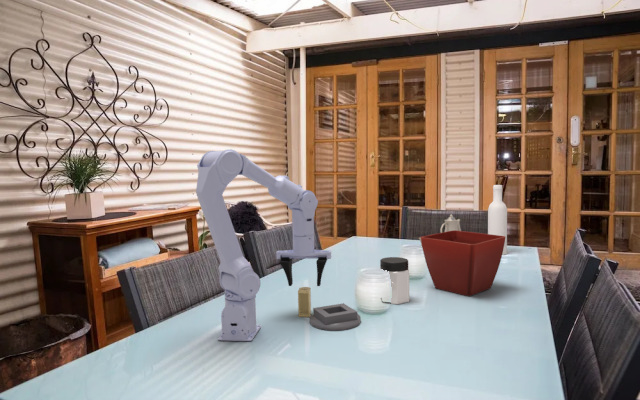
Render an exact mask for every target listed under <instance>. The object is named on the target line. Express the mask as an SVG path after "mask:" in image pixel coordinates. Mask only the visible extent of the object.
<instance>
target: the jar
mask: <svg viewBox="0 0 640 400" xmlns="http://www.w3.org/2000/svg"><path fill="white" fill-rule="evenodd" d="M379 261H380V262H379V263H380V267H379V270H380V269H383V270H384V271H385V270H387V272H388V271H389V274H390V279H391V287H392V298H391V304H392V305H402V304H406V303H409V302H410V269H409V259H407V258H405V257H400V256H399V257H397V256H392V257H391V256H390V257H389V256H388V257H382V258H381V259H380V260H379Z"/></svg>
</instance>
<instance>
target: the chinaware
mask: <svg viewBox="0 0 640 400" xmlns="http://www.w3.org/2000/svg"><path fill="white" fill-rule="evenodd" d="M460 221H461V218H457V219H456V217H454V215H453V214H452V213H451V214H450V215H449V217H447V218H446V219H444V223H442V224H441V226H440V229H439V230H440V231H439V233H442V232H443V228H444V226H445V229H444V232H447V231H453V230H457V231H462V229H461V224H460ZM417 238H418V240H419V241H420V247H421V246H422V243H421V237H417Z"/></svg>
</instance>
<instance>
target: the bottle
mask: <svg viewBox="0 0 640 400" xmlns="http://www.w3.org/2000/svg"><path fill="white" fill-rule="evenodd" d="M492 191H493V192H492V194H493V195H492V201H491V203H489V206H488V208H487V234H491V235H499V236H505V244H504V249H503V253H502V256H506V255H507V253H508V207H507V205H506V203H505V202H504V201H503V185H502V184H494V185H492Z"/></svg>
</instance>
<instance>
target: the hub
mask: <svg viewBox="0 0 640 400" xmlns="http://www.w3.org/2000/svg"><path fill="white" fill-rule="evenodd" d="M312 310H313V311H312V312H313V313H311V315H310V317H309V324H310V325H311V326H312V327H313V328H316V329H318V330H322V331H330V332H333V331H335V332H337V331H341V332H342V331H348V330H351V329H354V328H357V327H358V326H359V325H360V324H361V315H360V314H359V313H358V311H357V310H356V309H354V308H352V307H351V306H348V305H347V304H346V303H344V302H343V303H337V304H332V305H330V304H329V305H326V306H319V307H318V306H317V307H313V308H312Z"/></svg>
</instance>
